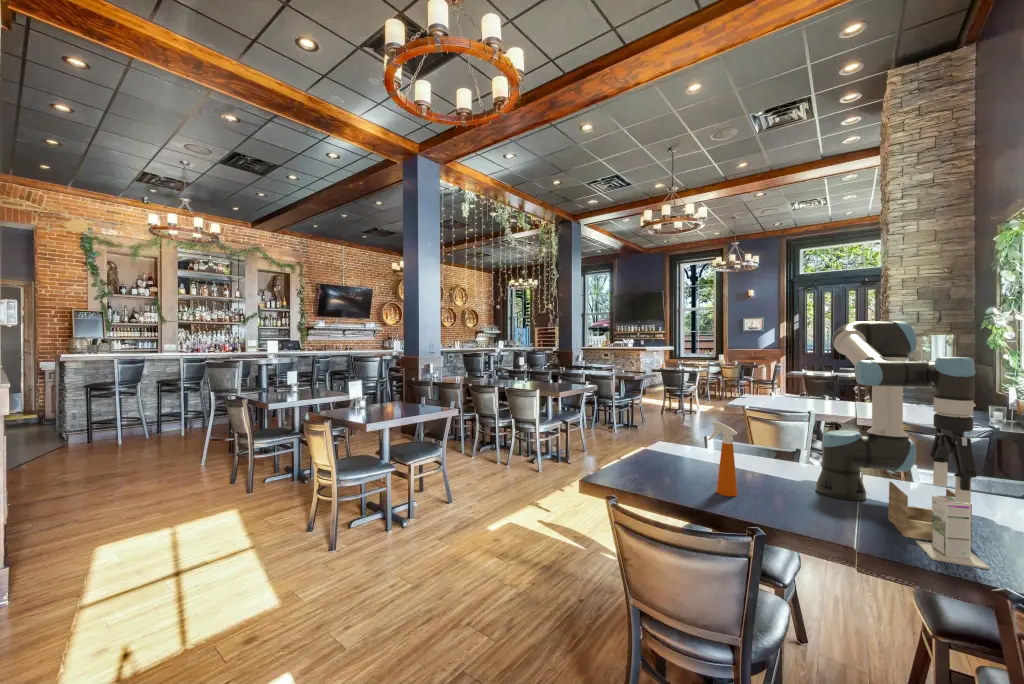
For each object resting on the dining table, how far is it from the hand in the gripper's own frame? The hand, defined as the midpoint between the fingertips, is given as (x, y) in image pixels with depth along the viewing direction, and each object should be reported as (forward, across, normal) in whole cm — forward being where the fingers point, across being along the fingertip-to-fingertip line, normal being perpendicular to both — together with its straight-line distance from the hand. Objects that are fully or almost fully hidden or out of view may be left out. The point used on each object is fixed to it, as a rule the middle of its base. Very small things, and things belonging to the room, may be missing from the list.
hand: (950, 493), depth 119 cm
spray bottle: (+17, +24, +56) cm, 63 cm away
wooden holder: (+17, +15, 0) cm, 23 cm away
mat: (+16, -1, 0) cm, 17 cm away
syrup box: (+16, -1, 0) cm, 16 cm away
